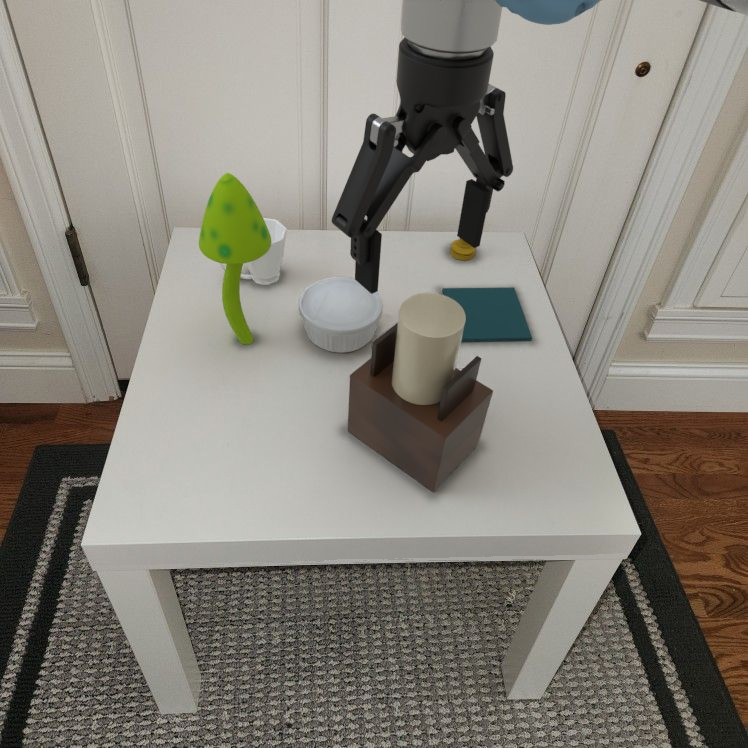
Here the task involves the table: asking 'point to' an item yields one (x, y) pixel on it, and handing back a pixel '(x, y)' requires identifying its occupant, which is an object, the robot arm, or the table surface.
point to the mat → (491, 314)
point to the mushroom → (233, 243)
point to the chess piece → (462, 250)
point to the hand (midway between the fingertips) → (419, 262)
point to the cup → (268, 256)
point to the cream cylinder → (426, 347)
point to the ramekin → (339, 314)
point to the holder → (416, 417)
